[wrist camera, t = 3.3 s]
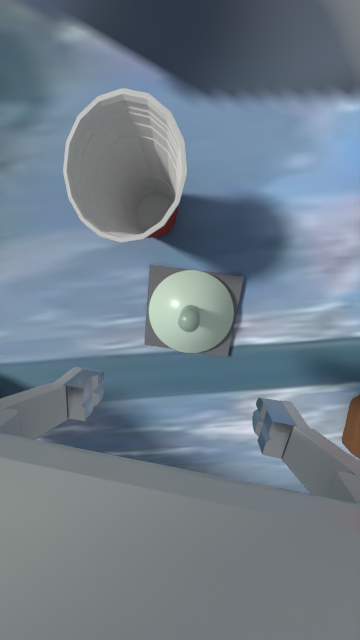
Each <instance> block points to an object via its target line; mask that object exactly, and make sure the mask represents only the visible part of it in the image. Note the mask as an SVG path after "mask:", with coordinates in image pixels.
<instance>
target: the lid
mask: <svg viewBox="0 0 360 640" xmlns="http://www.w3.org/2000/svg"><path fill="white" fill-rule="evenodd" d="M233 316H234V308H233V302H232V299H231V296H230V294H229V292H228V290H227V289H226V287H225V286H224V285H223V284H222V283H221V282H220V281H219V280H218V279H217V278H215V277H214V276H212V275H210V274H208V273H205V272H202V271H196V270H186V271H181V272H177V273H174V274H172V275H170V276H168V277H167V278H166V279H164V280H163V281H162V282H161V283H160V284H159V285H158V286H157V288H156V289H155V291H154V292H153V295H152V297H151V300H150V304H149V319H150V323H151V326H152V328H153V330H154V332H155V334H156V335H157V336H158V338H159V339H160V340H161V341H162V342H163V343H164V344H166V345H167V346H169V347H170V348H172V349H174V350H177V351H180V352H185V353H198V352H203V351H206V350H209V349H211V348H213V347H214V346H216V345H217V344H219V343H220V342H221V341H222V340H223V339H224V338H225V336H226V335H227V333H228V332H229V330H230V328H231V325H232V322H233Z"/></svg>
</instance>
